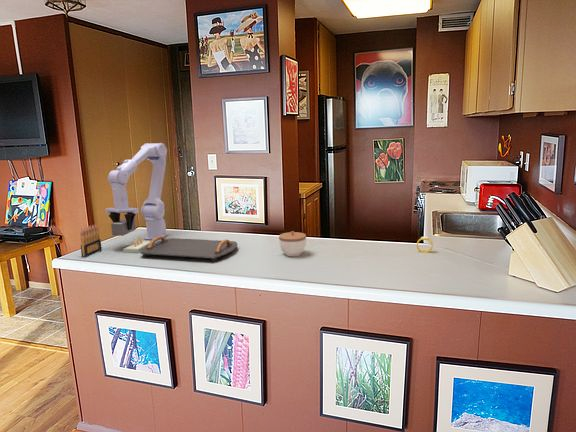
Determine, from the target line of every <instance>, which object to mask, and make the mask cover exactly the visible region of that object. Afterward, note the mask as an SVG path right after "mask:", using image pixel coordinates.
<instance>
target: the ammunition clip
mask: <svg viewBox="0 0 576 432" xmlns="http://www.w3.org/2000/svg"><path fill="white" fill-rule="evenodd" d="M80 244H81V245H80V251H81V258H88V257H90V256H92V255H94V254H96V253H98V252H100V251H102V250H103V249H102V248H103V247H102V242H101V238H100V234H99V228H98V225H97V223H94V224H92V225H89V226H86V227H83V228H80Z"/></svg>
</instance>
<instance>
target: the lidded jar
mask: <svg viewBox="0 0 576 432" xmlns="http://www.w3.org/2000/svg"><path fill="white" fill-rule="evenodd" d="M278 240H279V245H280V246H279V247H280V249H281V251H282V253H284V254H285V256H287V257H298V256H301V255H302V253H303V252H304V250H305V248H306V244H307V235H306V233H304V232H297V231H296V232H295V231H294V230H292V231H291V230H290V231H289V232H283V233H281V234H279V236H278Z"/></svg>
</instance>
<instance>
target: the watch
mask: <svg viewBox="0 0 576 432" xmlns="http://www.w3.org/2000/svg"><path fill="white" fill-rule="evenodd" d="M421 241H429V242H430V245H431V247H430V249H428V250H421V249H420V247H419V243H420V242H421ZM433 248H434V247H433V242H432V240H431V239H430V238H429V237H428V236H421V237H420V238H419V239H418V240H417V242H416V249H417V250H418V251H419V252H420V253H429V252H431V251H432V249H433Z"/></svg>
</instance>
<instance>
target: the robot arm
mask: <svg viewBox="0 0 576 432" xmlns="http://www.w3.org/2000/svg"><path fill="white" fill-rule="evenodd" d="M167 154H168V148H167V146H166V145H165V143H163V142H159V143H148V142H145V143H144V144H143V145H141V146H140V150H139V151H137V153H135V155H134V156H132V158H131V159H124V160H123V162H122V164H120V165H119V166H117V168H116V169H115V170H114V169H112V170H111V171H110V172H109V173H108V175H107V181H108V183H109V185H110V187H111V189H112V190H111V191H112V198H113V206H114V207H107V208H105V209H104V210H105V214H108V217H109V218H110V220H111V221H112V223H115V222H117V221H120V220H121V214H124V219H126V222H127V228H128V230H131V229H132V224H133V220H134V219H135V216H136V215H137V214H139V213H140V214H141V217H142V218H144V220H145V226H146V235H147V236H145V237H143V240H152V239H154V238H156V237H158V236H162V237H164V238H165V237H167V236H168V235H169V233H167V225H166V220H165V219H164V217H165V214H166V213H165V212H166V210H165V203H164V202H163V201H162V200H161V199H162V191H163V185H164V180H165V179H164V178H165V172H166V166H167V164H166V163H167ZM146 159H147V160H148V161H149V162H150V163H152V172H151V179H150V185H149V192H148V198H146V199H145V200H144V201H143V204H142V206H141V209H140V212H139V208H138V207H137V208H136V207H129V198H128V189H127V183H128V182H129V179H130V176H132V175H133V174H134V173H135V172H136V171H137V170H138V165H140V164H141V163H142V162H143V161H145V160H146Z"/></svg>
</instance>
